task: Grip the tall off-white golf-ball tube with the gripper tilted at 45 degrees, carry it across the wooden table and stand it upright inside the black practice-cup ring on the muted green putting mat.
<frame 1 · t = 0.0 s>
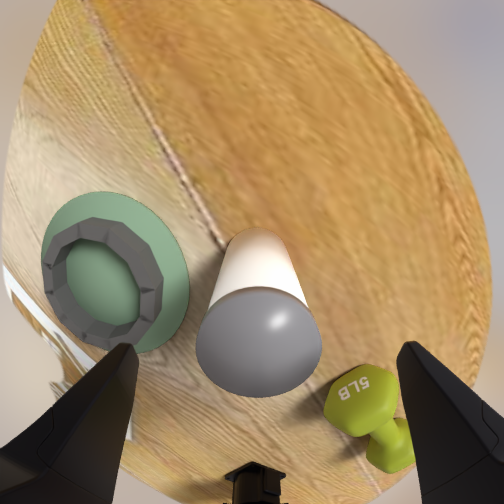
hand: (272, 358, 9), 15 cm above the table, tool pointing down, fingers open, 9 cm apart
golf tube: (256, 257, 24), on the table
putting cup: (106, 279, 25), on the table
dumbbell: (371, 404, 30), on the table
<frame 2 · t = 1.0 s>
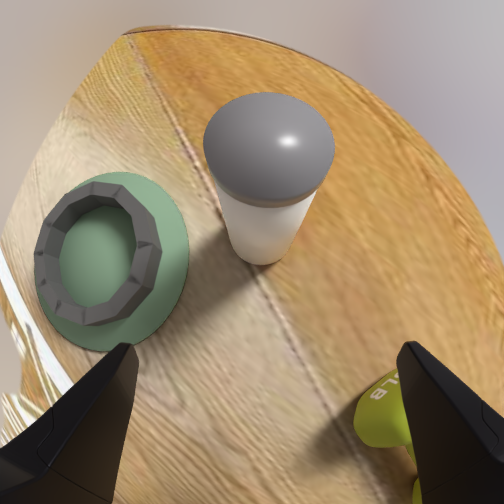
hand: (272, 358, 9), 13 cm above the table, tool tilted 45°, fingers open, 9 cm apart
golf tube: (261, 234, 24), on the table
putting cup: (101, 257, 23), on the table
dumbbell: (409, 438, 20), on the table
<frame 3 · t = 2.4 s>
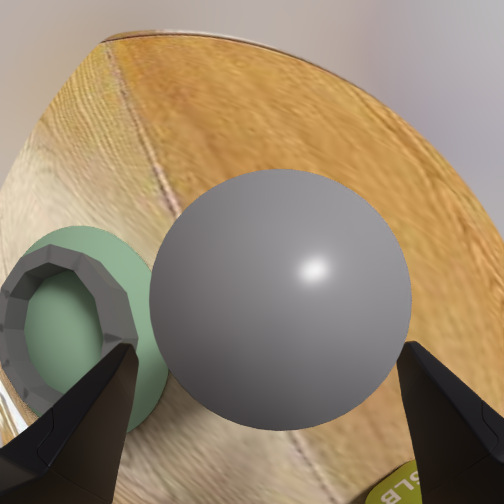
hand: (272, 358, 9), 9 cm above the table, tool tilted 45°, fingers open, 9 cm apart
golf tube: (262, 318, 18), on the table
putting cup: (69, 334, 17), on the table
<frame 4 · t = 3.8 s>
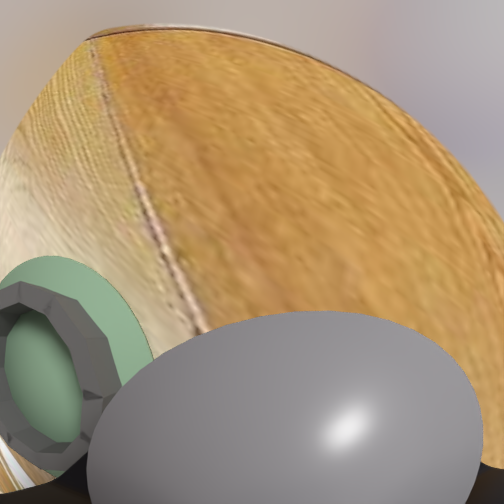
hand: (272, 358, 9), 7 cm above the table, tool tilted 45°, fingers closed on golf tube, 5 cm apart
golf tube: (263, 370, 15), on the table, touching gripper
putting cup: (49, 377, 14), on the table
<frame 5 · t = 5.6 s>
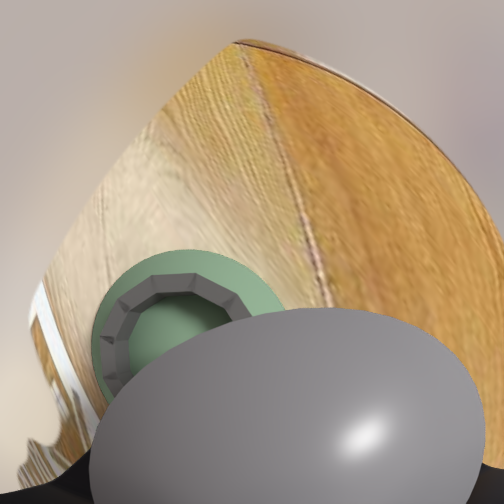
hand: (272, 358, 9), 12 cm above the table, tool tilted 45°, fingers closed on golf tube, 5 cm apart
golf tube: (264, 369, 15), point 6 cm above the table, touching gripper
putting cup: (186, 356, 21), on the table
when the fingers open (8 cm above the table, at t = 7.4 s): golf tube stays where it is, resting on putting cup.
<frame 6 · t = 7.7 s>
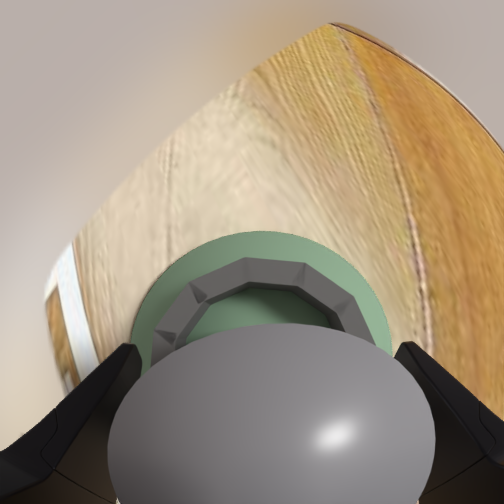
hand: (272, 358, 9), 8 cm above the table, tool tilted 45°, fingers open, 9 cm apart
golf tube: (262, 368, 16), resting on putting cup
putting cup: (262, 366, 16), on the table
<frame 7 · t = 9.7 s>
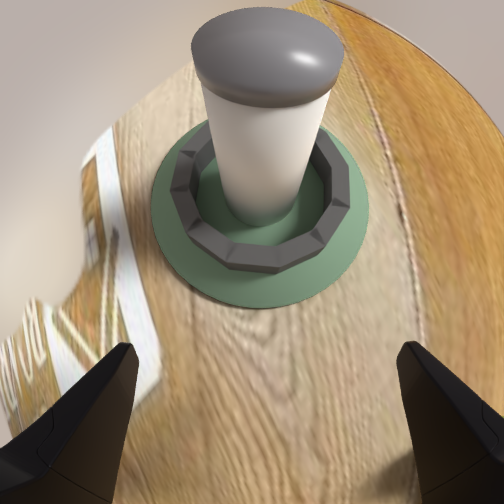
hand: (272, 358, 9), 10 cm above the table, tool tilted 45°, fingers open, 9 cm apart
golf tube: (260, 192, 21), resting on putting cup
putting cup: (260, 194, 21), on the table
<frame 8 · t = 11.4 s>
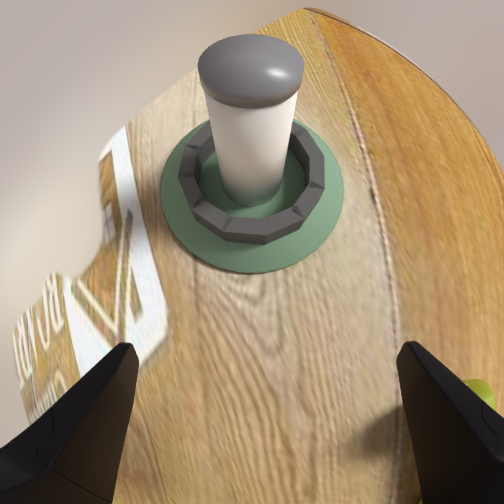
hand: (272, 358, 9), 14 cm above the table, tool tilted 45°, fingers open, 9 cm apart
golf tube: (251, 179, 25), resting on putting cup
putting cup: (252, 181, 25), on the table
dumbbell: (433, 454, 19), on the table
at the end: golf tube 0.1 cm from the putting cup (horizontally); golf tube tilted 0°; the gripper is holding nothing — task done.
